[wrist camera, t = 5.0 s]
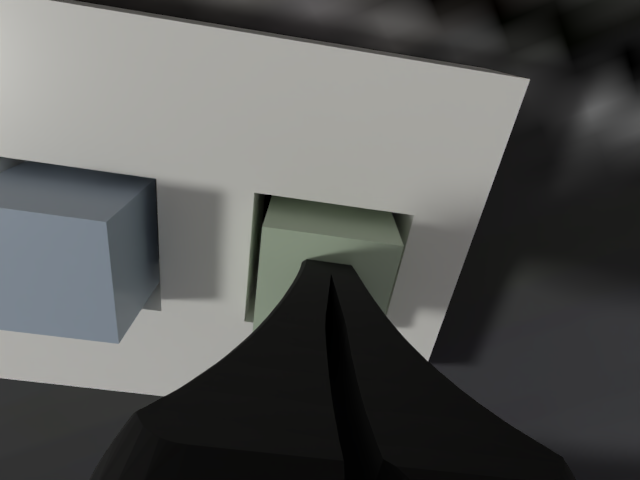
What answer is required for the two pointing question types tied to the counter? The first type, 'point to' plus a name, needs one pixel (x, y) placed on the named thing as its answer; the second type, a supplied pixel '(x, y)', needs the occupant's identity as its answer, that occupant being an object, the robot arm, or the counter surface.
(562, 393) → the counter surface
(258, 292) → the sage green button
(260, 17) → the counter surface
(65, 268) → the slate blue button
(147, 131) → the button panel
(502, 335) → the counter surface
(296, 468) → the robot arm
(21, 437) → the counter surface
